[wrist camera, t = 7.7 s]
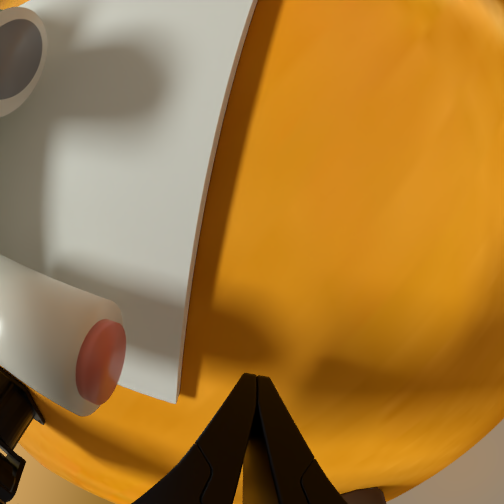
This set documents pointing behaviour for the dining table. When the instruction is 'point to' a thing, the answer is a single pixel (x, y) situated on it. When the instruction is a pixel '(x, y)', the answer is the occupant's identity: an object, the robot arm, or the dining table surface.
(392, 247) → the dining table surface
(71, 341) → the knob
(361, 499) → the beer bottle
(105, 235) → the mount
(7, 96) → the knob
